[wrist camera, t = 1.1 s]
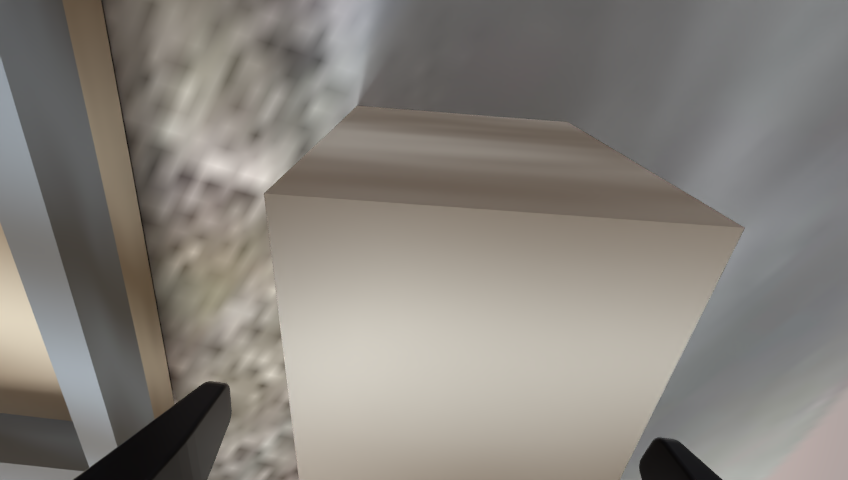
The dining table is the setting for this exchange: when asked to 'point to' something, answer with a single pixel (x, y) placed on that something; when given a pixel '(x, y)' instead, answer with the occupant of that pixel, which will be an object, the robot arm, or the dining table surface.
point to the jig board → (69, 251)
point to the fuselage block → (481, 297)
